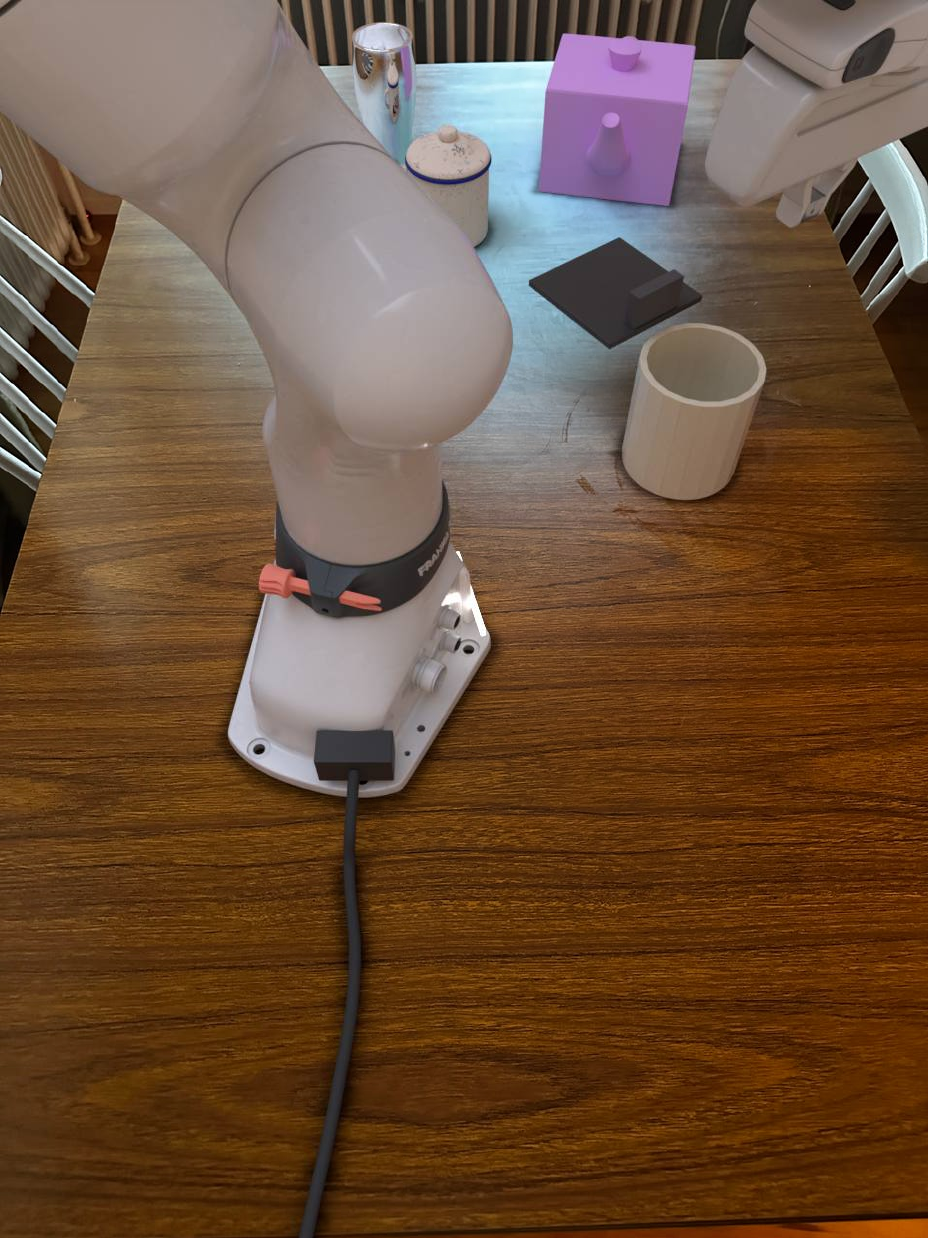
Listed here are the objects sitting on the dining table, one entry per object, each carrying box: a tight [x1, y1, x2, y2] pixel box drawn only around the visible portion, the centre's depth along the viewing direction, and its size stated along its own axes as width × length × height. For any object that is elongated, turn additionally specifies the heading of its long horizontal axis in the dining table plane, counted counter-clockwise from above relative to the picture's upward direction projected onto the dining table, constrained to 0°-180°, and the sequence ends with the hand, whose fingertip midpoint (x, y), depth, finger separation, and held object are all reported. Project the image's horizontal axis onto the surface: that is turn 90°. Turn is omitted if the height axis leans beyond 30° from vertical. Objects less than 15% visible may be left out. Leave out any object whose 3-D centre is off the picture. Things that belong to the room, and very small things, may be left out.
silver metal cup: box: [351, 21, 418, 165], centre depth 108 cm, size 7×7×15 cm
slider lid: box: [528, 236, 703, 350], centre depth 81 cm, size 11×11×4 cm
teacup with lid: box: [400, 124, 492, 248], centre depth 102 cm, size 12×9×12 cm
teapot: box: [538, 33, 697, 207], centre depth 108 cm, size 15×25×14 cm, turn 169°
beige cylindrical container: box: [621, 322, 768, 501], centre depth 82 cm, size 10×10×11 cm
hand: (797, 216), depth 65 cm, fingers closed
